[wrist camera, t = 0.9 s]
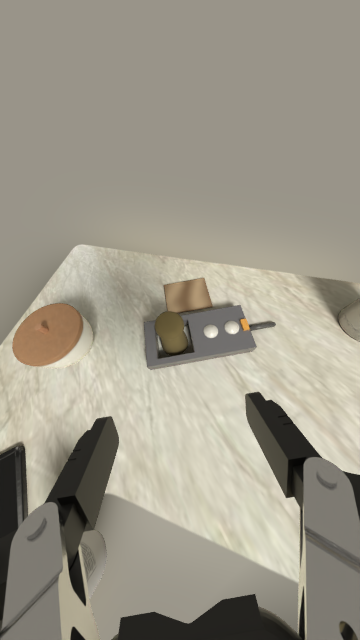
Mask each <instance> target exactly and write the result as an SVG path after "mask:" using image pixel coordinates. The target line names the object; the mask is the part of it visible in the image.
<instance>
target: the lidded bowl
mask: <svg viewBox="0 0 360 640" xmlns="http://www.w3.org/2000/svg"><path fill="white" fill-rule="evenodd" d="M92 343H93V331H92V328H91V326H90V324H89V323H88V321H87V320H86V319H85V318H84V317H83V316H82V315H81V314H80V313H79V312H78V311H77V310H76V309H75V308H74V307H72V306H70V305H67V304H62V303H57V304H50V305H47V306H44V307H42V308H40V309H38V310H36V311H35V312H33V313H32V314H31V315H29V316H28V317H27V318H26V319H25V320H24V321H23V322H22V324H21V325H20V326H19V328H18V329H17V331H16V333H15V336H14V338H13V347H12V348H13V352H14V355H15V357H16V358H17V359H18V360H19V361H20V362H21V363H24V364H26V365H31V366H38V367H43V368H64V367H68V366H71V365H73V364H75V363H77V362H79V361H80V360H82V359H83V358H84V357H85V356H86V355H87V353H88V352H89V350H90V349H91V347H92Z"/></svg>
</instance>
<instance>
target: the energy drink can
mask: <svg viewBox="0 0 360 640" xmlns="http://www.w3.org/2000/svg"><path fill="white" fill-rule="evenodd" d="M80 546H81V550H82V556H83V562H84V568H85V574H86V580H87V586H88V592H89V598H91V596H92V594H93V592H94V590H95V588H96V586H97V585H98V583H99V581H100V579H101V577H102V575H103V572H104V569H105V564H106V546H105V541H104V538H103V537H102V535H101V534H100V533H99V532H98V531H96V530H91V531H85V532H84V533H83V536H82V539H81V542H80Z"/></svg>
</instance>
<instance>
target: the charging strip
mask: <svg viewBox="0 0 360 640" xmlns="http://www.w3.org/2000/svg"><path fill="white" fill-rule="evenodd" d="M181 317H182V319H183V321H184V326H186V325H188V326H189V331H190V335H191V340H192V345H193V350H194V352H193V353H188V354H182V355H177V356H171V357H166V358H160V356H159V347H158V337H157V332H156V330H155V322H156V320H154V321H149V322H144V330H145V345H146V359H147V367H148V368H149V369H150V370H153V369H159V368H164V367H169V366H175V365H180V364H186V363H191V362H197V361H202V360H208V359H213V358H219V357H224V356H230V355H235V354H241V353H246V352H252V351H253V350H254V349H255V348H256V347H257V346H256V344H255V341H254V339H253V336H252V334H251V331H252V330H257V329H263V328H268V327H274V326H275V325H276V323H275V322H271V323H265V324H260V325H254V326H249V325H248V323H247V320H246V318H245V316H244V313H243V311H242V308H241V306H240V305H238V306H232V307H226V308H221V309H215V310H210V311H204V312H199V313H193V314H188V315H182V316H181Z"/></svg>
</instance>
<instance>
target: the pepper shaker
mask: <svg viewBox="0 0 360 640" xmlns="http://www.w3.org/2000/svg"><path fill="white" fill-rule="evenodd" d="M155 330H156V332H157V334H158V335H159V336H160V337H161V342H162V348H163V350H164V351H165V352H166V353H167V354H168V355H170V356H177V355H181V354H183V353H184V352H185V351H186V349H187V347H188V339H187V337H186V335H185V333H184V331H183V330H184V321H183V319H182V317H181V316H180V315H179V314H178V313H176V312H172V311H167V312H164V313H162V314H160V315H159V316H158V318H157V319H156V322H155Z"/></svg>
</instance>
